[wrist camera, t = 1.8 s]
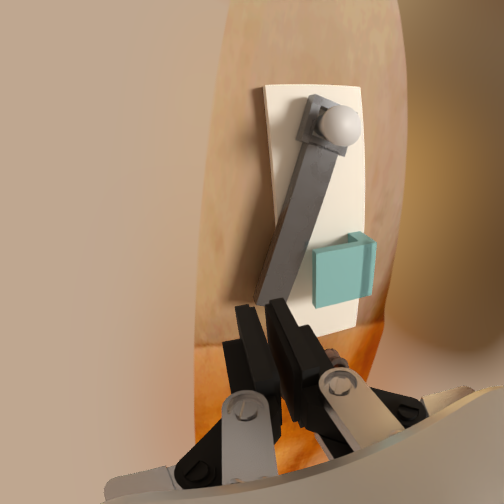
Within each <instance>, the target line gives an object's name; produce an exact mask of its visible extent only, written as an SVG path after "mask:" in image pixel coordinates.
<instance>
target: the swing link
mask: <svg viewBox="0 0 504 504" xmlns="http://www.w3.org/2000/svg"><path fill="white" fill-rule="evenodd" d="M338 105H340V104H338V103H335V102H333V101H331V100H329V99H326V98H324V97H321V96H319V95H317V94H313V95H309V96H308V99H307V103H306V106H305V109H304V113H303V116H302V119H301V123H300V126H299V129H298V132H297V136H296V139H295V140H296V141H299V142H302V145H301V148H300V152H299V155H298V158H297V161H296V165H295V168H294V171H293V174H292V177H291V181H290V184H289V187H288V190H287V193H286V197H285V200H284V203H283V206H282V209H281V212H280V216H279V219H278V222H277V225H276V228H275V231H274V234H273V238H272V241H271V244H270V247H269V250H268V253H267V256H266V259H265V262H264V265H263V268H262V272H261V275H260V278H259V281H258V284H257V287H256V290H255V293H254V296H253V298H254V301H255V303H256V305H260V306H265V304H269V300H272V299H277V298H282V297H283V298H284V300H285V302H287V300H288V297H289V295H290V292H291V289H292V287H293V284H294V281H295V279H296V276H297V274H298V271H299V268H300V265H301V263H302V260H303V257H304V255H305V252H306V249H307V246H308V243H309V241H310V238H311V235H312V232H313V229H314V226H315V224H316V221H317V218H318V215H319V212H320V209H321V206H322V203H323V200H324V197H325V194H326V191H327V188H328V185H329V182H330V179H331V176H332V173H333V170H334V166H335V163H336V160H337V157H338V156H342V157H345V155H346V151H347V148H348V146H346V147H343V146H337V145H334V144H332V143H331V142H329V141H327V140H324V139H321V138H319V137H316V136H313V135H312V134H313V131H314V127H315V124H316V121H317V117H318V114H319V111H320V109H321V110H324V111H327V110H328V109H329V108H331V107H333V106H338ZM356 113H357V112H356ZM357 114H358V113H357Z"/></svg>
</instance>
